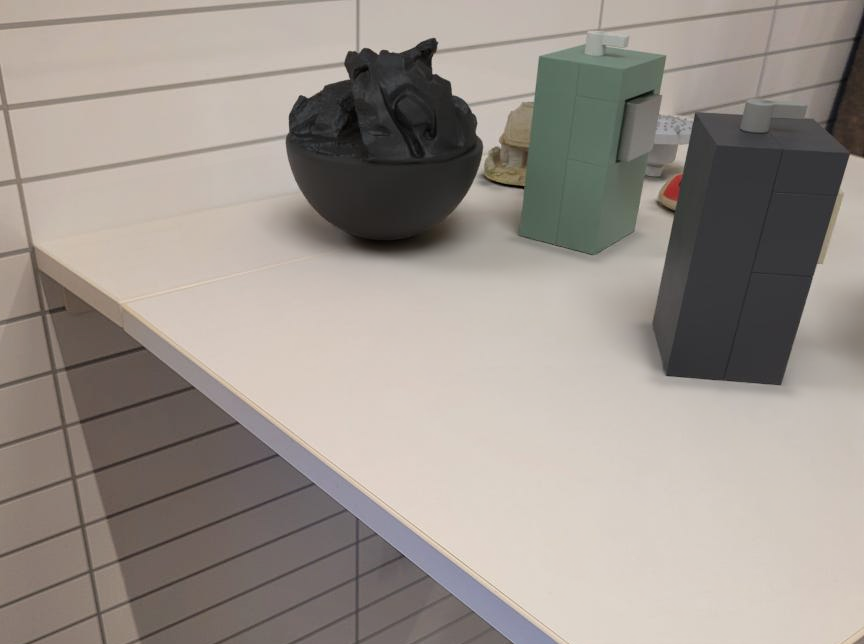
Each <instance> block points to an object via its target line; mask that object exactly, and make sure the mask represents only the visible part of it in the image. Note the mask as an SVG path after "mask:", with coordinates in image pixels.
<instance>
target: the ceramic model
mask: <svg viewBox="0 0 864 644" xmlns="http://www.w3.org/2000/svg"><path fill="white" fill-rule="evenodd" d="M533 106H534V101H522V102H521V104H520V105H519V106H518V107H517V108H516V109H514V110H511V111H510V112H509V114H508V115H507V120H506V124H505V126H504V130H503V132H502V134H501V135H500V136H499V138H498V143H499V144H500V146H497V145H495V146H494V147H492V148H490V149H489V150H488V155H487V156H486V158H485V159H484V163H483V167H484V176H485V177H486V178H487V179H489V180H492V181H494V182H497V183H501V184H505V185H513V186H522V187H525V178H526V169H527V160H528V151H529V142H530V133H531V124H532V115H533Z"/></svg>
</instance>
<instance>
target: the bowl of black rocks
mask: <svg viewBox="0 0 864 644" xmlns="http://www.w3.org/2000/svg"><path fill="white" fill-rule="evenodd" d="M438 45H439V41H437V38H435V37H431V38H428V39H427V38H426V40H422V41H420V42H419V43H417V44H416V45H415V46H413V47H411V48H410V49H407V50H404V51H401V52H394V51H392V52H390V51H389V50H388V49H381V50H380V51H379V53H377V52H375V51H374V50H372V49H371V48H369V47H363V48H362V49H361V50H360V51H359V52H357V51H356V50H353V51H352V50H348V51H347V53H346V55H345V59H344V62H343V65H344V68H345V71H346V72H347V74H348V78H349V79H343V80H340V81H337V82H333V83H328V84H325V85H324V86H323V88H322V90H320V91H319V92H317V93H315V94H313V95H312V96H310V97H307V96H305V95H302V94H300V95H298V97H297V99H296V101H295V102H294V104H293V106H292V108H291V110H290V112H289V113H288V114H289V115H288V133H287V134H286V137H285V150H286V155H287V161H288V164H289V167H290V170H291V173H292V175H293V178H294V181H295V183H296V184H297V187H298V188H299V190H300V192H301V194H302V195H303V197H304V198H305V200H306V201H307V202H308V203H309V205H310V206H311V207H312V208H313V209H314V210H315V212H316V213H318V214H319V215H320V216H321V217H322V218H323V219H324V220H325V221H327V222H328V223H330V224H331V225H333V226H334V227H336V228H338V229H339V230H341V231H343V232H345V233H347V234H349V235H353V236H356V237H359V238H362V239H367V240H375V241H395V240H402V239H406V238H410V237H415V236H416V235H420V234H422V233H424V232H427V231H428V230H431V229H432V228H433V227H435V226H437V225H438V224H440V223H441V222H442V221H444V220H445V219H446V218H447V217H448V216H449V215H450V214H452V213H453V212H454V210H456V209H457V207H458V206H459V205H460V204H461V202H463V200H464V198H465V197H466V195H467V194H468V192H469V191H470V189H471V187H472V186H473V183H474V181H475V179H476V176H477V175H478V171H479V169H480V165H481V162H482V157H483V153H484V142H483V140H482V138H480V137H479V136H478V135H477V129H478V128H477V127H478V118H477V116H476V114H475V113H473V112H472V108H471V107H470V106H469V104H468V102H466V100H465V99H464V98H462V97H459V96H457V95H456V94H455V95H454V94H453V88H452V83H451V81H450V80H448V79H446V78H443V77H442V76H441V75H439V74H437V73H433V57H434V55H435V54H437V51H438Z"/></svg>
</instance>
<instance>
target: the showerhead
mask: <svg viewBox="0 0 864 644" xmlns="http://www.w3.org/2000/svg"><path fill="white" fill-rule="evenodd" d="M692 125H693V120H688V118H686V117H685V118H681V117H680V116H674V115H671V114H668V115H666V114H663V115H662V114H661V113H659V116H658V122H657V127H656V133H655V138H654V144H653V149H652V150H651V151H649V155H648V160H647V166H646V171H645V176H648V177H655V178H656V177H657V178H658V177H661V176H662V173H663V169H664V165H669V164H672V163H673V162H675V161H676V157H677V154H678V148H679V146H680V145H681V146H682V145H689V140H690V135H691V130H692Z"/></svg>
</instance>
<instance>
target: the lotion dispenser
mask: <svg viewBox="0 0 864 644" xmlns="http://www.w3.org/2000/svg"><path fill="white" fill-rule="evenodd" d="M807 111H808V104H807V103H805V102H802V101H801V102H800V101H782V100H770V99H765V98H749V99H746V100H745V104H744V107H743V114H737V113H735V114H734V113H721V112H701V111H695V112H694V116H693V120H692V122H693V125H692V130H691V135H690V140H689V144H687V151H686V155H685V161H684V165H683V171H682V174H683V175H682V180H681V185H680V189H679V194H678V199H677V204H676V209H675V211H674V213H673V214H674V215H673V219H672V224H671V229H670V235H669V239H668V244H667V249H666V254H665V259H664V264H663V268H662V273H661V278H660V279H661V280H660V283H659V288H658V294H657V298H656V303H655V308H654V313H653V318H652V322H651V325H652V328H653V332H654V335H655V340H656V343H657V347H658V350H659V354H660V357H661V361H662V365H663V369H664V373H665V376H669V377H682V378H693V379H704V380H705V379H706V380H718V381H720V380H721V381H731V382H742V383H743V382H744V383H756V384H757V383H758V384H770V385H782V383H783V380H784V376H785V373H786V371H787V366H788V363H789V360H790V356H791V353H792V350H793V347H794V344H795V340H796V337H797V333H798V330H799V326H800V323H801V320H802V317H803V313H804V310H805V306H806V303H807V300H808V296H809V293H810V290H811V286H812V283H813V280H814V276H815V274H816V273H815V272H816V270H817V267H818V264H817V263H818V259H819V256H820V253H821V249H822V246H823V243H824V239H825V236H826V233H827V229H828V226H829V222H830V219H831V216H832V212H833V209H834V206H835V202H836V199H837V196H838V193H839V189H841V187H842V184H843V183H842V182H843V179H844V175H845V171H846V170H847V166H848V163H849V160H850V156H851V152H850V151H849V149H847V148H846V147H845V146H844V145H842V143H840V142H839V141H838V140H837V138H835V137H834V136H833V135H832V134H830V132H828V131H827V130H826V129H825V128H824V127H823V126H822V125H821V124H820V123H819V122H817V121H816V120H815V119H814V118H808V117H807V118H806V113H807Z"/></svg>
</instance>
